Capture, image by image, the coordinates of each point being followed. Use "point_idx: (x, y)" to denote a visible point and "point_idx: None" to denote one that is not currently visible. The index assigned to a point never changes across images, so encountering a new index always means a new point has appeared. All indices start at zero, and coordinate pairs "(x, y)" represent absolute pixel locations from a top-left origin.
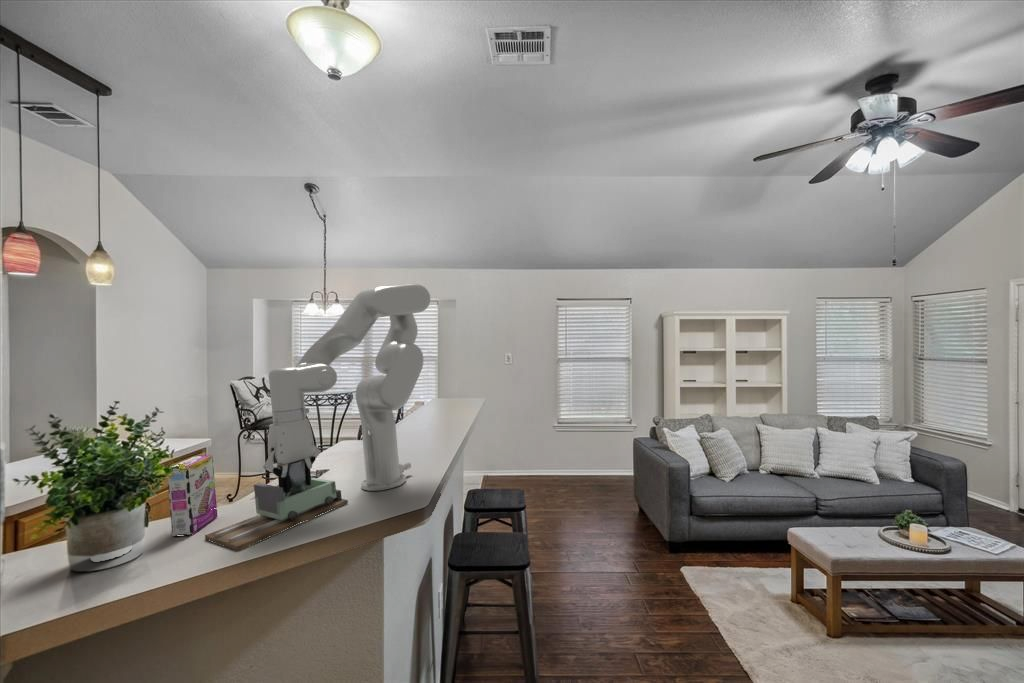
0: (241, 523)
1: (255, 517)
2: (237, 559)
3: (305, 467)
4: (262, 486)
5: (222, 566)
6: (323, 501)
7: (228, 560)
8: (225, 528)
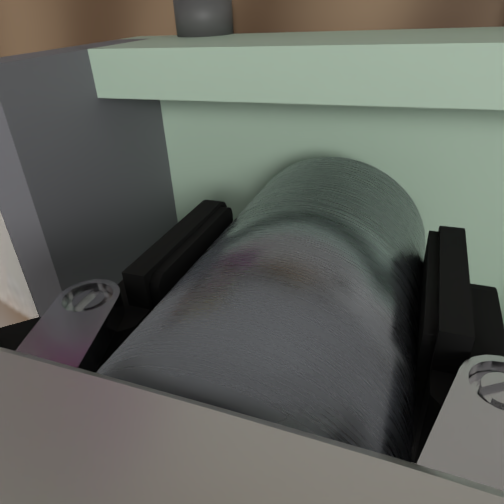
0: (75, 25)
1: (154, 7)
2: (35, 307)
3: (415, 458)
4: (8, 228)
5: (3, 301)
6: None
7: (16, 287)
8: (6, 5)
